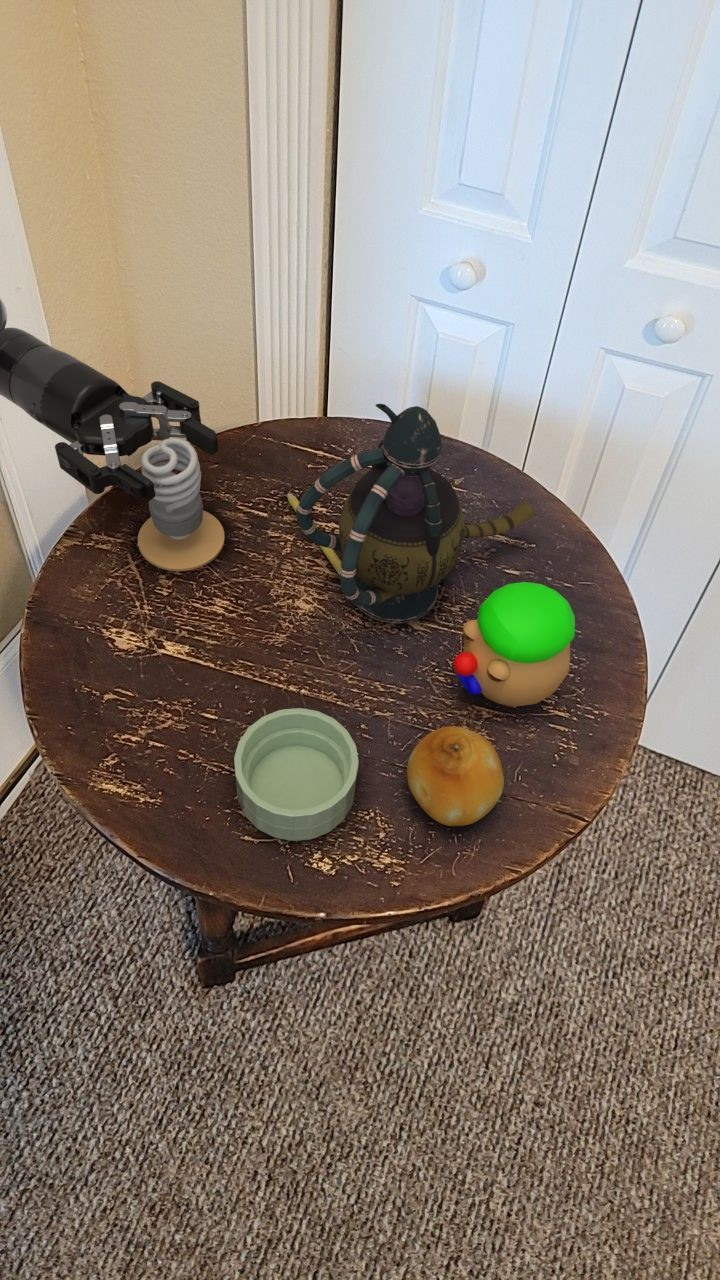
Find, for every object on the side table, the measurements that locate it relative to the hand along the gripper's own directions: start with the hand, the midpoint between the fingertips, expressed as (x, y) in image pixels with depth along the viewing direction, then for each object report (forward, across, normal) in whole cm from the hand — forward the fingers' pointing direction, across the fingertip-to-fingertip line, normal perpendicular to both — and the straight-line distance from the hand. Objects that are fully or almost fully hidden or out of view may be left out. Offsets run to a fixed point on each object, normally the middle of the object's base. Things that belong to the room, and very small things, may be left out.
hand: (184, 468), depth 88 cm
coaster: (-2, 0, +11) cm, 11 cm away
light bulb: (-2, 0, +11) cm, 11 cm away
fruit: (+37, -7, +11) cm, 39 cm away
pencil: (+8, +10, +11) cm, 17 cm away
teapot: (+21, +12, +11) cm, 27 cm away
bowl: (+26, -15, +11) cm, 32 cm away
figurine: (+34, +6, +11) cm, 36 cm away
